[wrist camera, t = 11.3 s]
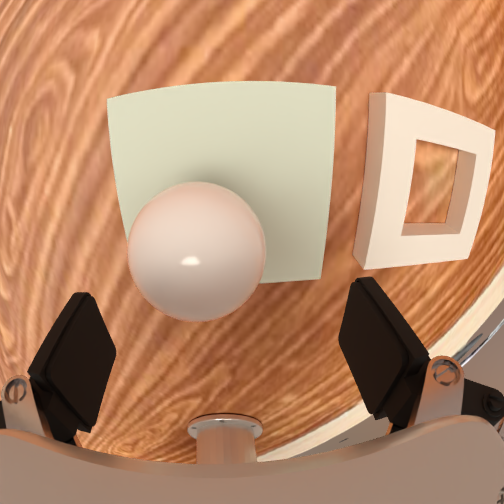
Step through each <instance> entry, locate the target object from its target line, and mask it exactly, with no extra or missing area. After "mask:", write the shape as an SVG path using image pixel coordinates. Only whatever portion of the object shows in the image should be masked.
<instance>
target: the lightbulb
mask: <svg viewBox="0 0 504 504" xmlns="http://www.w3.org/2000/svg"><path fill="white" fill-rule="evenodd" d="M127 258H128V265H129V270H130V273H131V276H132V279H133V281H134V283H135V285H136V287H137V289H138V290H139V292H140V293H141V295H142V296H143V297H144V298H145V299H146V300H147V301H148V302H149V303H150V304H151V305H152V306H153V307H154V308H156V309H157V310H158V311H160V312H162V313H163V314H165V315H167V316H169V317H172V318H175V319H178V320H182V321H187V322H206V321H212V320H216V319H219V318H222V317H224V316H226V315H228V314H230V313H232V312H234V311H235V310H237V309H238V308H239V307H241V306H242V305H243V304H244V303H245V302H246V301H247V300H248V299H249V298H250V297H251V295H252V294H253V293H254V291H255V290H256V288H257V286H258V284H259V282H260V280H261V278H262V275H263V272H264V268H265V263H266V240H265V235H264V231H263V228H262V226H261V223H260V221H259V219H258V217H257V215H256V214H255V212H254V211H253V209H252V208H251V207H250V206H249V205H248V203H247V202H246V201H245V200H243V199H242V198H241V197H240V196H239V195H237V194H236V193H234V192H233V191H231V190H229V189H227V188H225V187H223V186H220V185H217V184H214V183H209V182H201V181H193V182H184V183H180V184H176V185H173V186H171V187H168V188H166V189H164V190H163V191H161V192H159V193H158V194H156V195H155V196H154V197H152V198H151V199H150V200H149V201H148V202H147V203H146V204H145V205H144V206H143V208H142V209H141V210H140V212H139V213H138V215H137V217H136V218H135V220H134V223H133V225H132V227H131V231H130V234H129V239H128V246H127Z"/></svg>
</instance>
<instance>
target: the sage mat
mask: <svg viewBox="0 0 504 504" xmlns="http://www.w3.org/2000/svg"><path fill="white" fill-rule="evenodd" d="M107 111H108V124H109V135H110V145H111V153H112V161H113V168H114V175H115V182H116V188H117V194H118V199H119V205H120V210H121V215H122V220H123V225H124V229H125V234H126V238H127V242H128V239H129V234H130V231H131V227H132V225H133V223H134V220H135V218H136V217H137V215H138V213H139V212H140V210H141V209H142V208H143V206H144V205H145V204H146V203H147V202H148V201H149V200H150V199H151V198H152V197H154V196H155V195H156V194H158V193H159V192H161V191H163V190H164V189H166V188H168V187H171V186H173V185H176V184H180V183H184V182H193V181H201V182H209V183H214V184H217V185H220V186H223V187H225V188H227V189H229V190H231V191H233V192H234V193H236V194H237V195H239V196H240V197H241V198H242V199H243V200H245V201H246V202H247V203H248V205H249V206H250V207H251V208H252V209H253V211H254V212H255V214H256V215H257V217H258V219H259V221H260V223H261V226H262V228H263V231H264V235H265V240H266V263H265V268H264V272H263V275H262V278H261V280H260V282H259V283H274V282H288V281H301V280H313V279H320V278H321V271H322V265H323V257H324V250H325V242H326V234H327V225H328V216H329V207H330V196H331V185H332V172H333V157H334V139H335V112H336V87H335V86H327V85H318V84H308V83H295V82H276V81H231V82H211V83H199V84H188V85H179V86H172V87H164V88H158V89H152V90H146V91H140V92H135V93H130V94H125V95H121V96H116V97H112V98H108V99H107Z"/></svg>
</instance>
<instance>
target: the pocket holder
mask: <svg viewBox="0 0 504 504" xmlns="http://www.w3.org/2000/svg"><path fill="white" fill-rule="evenodd" d="M416 139H418V140H423V141H428V142H432V143H436V144H441V145H445V146H449V147H452V148H456V149H459V153H458V161H457V168H456V174H455V180H454V186H453V191H452V196H451V201H450V205H449V210H448V214H447V218H446V222H445V223H404V219H405V214H406V209H407V204H408V198H409V193H410V187H411V180H412V174H413V166H414V158H415V149H416ZM494 139H495V130H493V129H491V128H489V127H487V126H484V125H482V124H480V123H478V122H475V121H473V120H471V119H468V118H466V117H463V116H461V115H458V114H456V113H453V112H450V111H448V110H445V109H442V108H439V107H436V106H433V105H430V104H427V103H424V102H420V101H417V100H414V99H410V98H406V97H403V96H399V95H395V94H391V93H386V92H383V93H369V118H368V137H367V150H366V162H365V172H364V181H363V190H362V198H361V205H360V212H359V219H358V225H357V231H356V237H355V243H354V249H353V254H352V255H353V256H354V257H355V259H356V260H357V261H358V263H359V264H360V265H361V267H362V268H363V269H364V270H367V269H378V268H388V267H398V266H408V265H417V264H426V263H435V262H444V261H452V260H460V259H468V256H469V253H470V251H471V248H472V244H473V241H474V238H475V235H476V232H477V228H478V225H479V221H480V217H481V214H482V210H483V205H484V201H485V197H486V192H487V187H488V182H489V176H490V171H491V164H492V157H493V149H494Z"/></svg>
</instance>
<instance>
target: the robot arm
mask: <svg viewBox="0 0 504 504" xmlns="http://www.w3.org/2000/svg"><path fill="white" fill-rule="evenodd" d="M339 345H340V347H341V349H342V352H343V354H344V356H345V358H346V361H347V363H348V365H349V368H350V370H351V372H352V375H353V377H354V379H355V382H356V384H357V386H358V389H359V391H360V393H361V396H362V398H363V401H364V403H365V406H366V408H367V410H368V412H369V413H370V414H373V415H374V418H375V420H378V419H381V418H384V417H388V419H389V421H390V424H389V427H388V430H387V432H386V435H385V436H383V437H380V438H376V439H373V440H370V441H366V442H363V443H359V444H356V445H352V446H348V447H345V448H341V449H337V450H332V451H328V452H323V453H319V454H314V455H309V456H303V457H297V458H290V459H283V460H275V461H266V462H257V457H256V449H255V440H254V439H255V438H257V437H259V436H260V435H261V434H262V432H263V428H262V424H261V423H260V422H259V421H258V420H256V419H254V418H251V417H247V416H243V415H235V414H216V415H207V416H203V417H199V418H196V419H194V420H192V421H191V422H190V423H189V424H188V433H189V435H191V436H192V437H193V438H195V439H197V464H182V463H168V462H157V461H148V460H141V459H134V458H128V457H122V456H116V455H111V454H106V453H102V452H97V451H93V450H89V449H85V448H83V447H82V445H81V443H80V441H79V439H78V437H77V435H76V432H77V429H78V430H80V431H84V432H88V433H91V429H92V426H95V424H96V421H97V417H98V413H99V410H100V406H101V402H102V399H103V395H104V392H105V389H106V385H107V382H108V379H109V376H110V373H111V369H112V366H113V363H114V360H115V357H116V348H115V345H114V343H113V341H112V339H111V337H110V334H109V332H108V330H107V328H106V325H105V323H104V321H103V318H102V316H101V313H100V311H99V308H98V306H97V303H96V301H95V299H94V297H92V296H91V295H90V294H89V293H87V292H76V293H74V294H73V295H72V297H71V298H70V300H69V301H68V303H67V304H66V306H65V307H64V309H63V310H62V312H61V313H60V315H59V317H58V318H57V320H56V321H55V323H54V325H53V326H52V328H51V330H50V331H49V333H48V335H47V336H46V338H45V340H44V341H43V343H42V345H41V347H40V349H39V350H38V352H37V354H36V356H35V358H34V360H33V361H32V363H31V365H30V367H29V369H28V371H27V372H28V373H29V375H30V376H31V377H30V379H28V378H27V377H25V376H23V375H16V376H13V377H11V378H10V379H9V380H8V381H7V382H6V383H5V385H4V386H3V389H2V392H1V398H2V400H1V401H0V504H504V396H503V395H502V393H501V392H499V391H498V390H496V389H494V388H491V387H488V386H485V385H482V384H479V383H476V382H473V381H470V380H467V379H465V378H464V371H463V369H462V367H461V366H460V364H459V363H458V362H457V361H456V360H454V359H453V358H450V357H448V356H437V357H435V358H433V359H432V360H431V359H430V358H429V356H428V355H429V353H428V351H427V350H426V348H425V347H424V345H423V344H422V343H421V341H420V340H419V338H418V337H417V335H416V334H415V333H414V331H413V330H412V328H411V327H410V326H409V324H408V323H407V321H406V320H405V319H404V317H403V316H402V315H401V313H400V312H399V311H398V309H397V308H396V307H395V305H394V304H393V303H392V301H391V300H390V299H389V297H388V296H387V295H386V294H385V292H384V291H383V290H382V288H381V287H380V286H379V285H378V283H377V282H376V281H375V280H374V278H372V277H362V278H357V279H356V280H355V282H353V283H352V284H351V286H350V290H349V295H348V300H347V304H346V308H345V313H344V317H343V321H342V325H341V329H340V333H339Z"/></svg>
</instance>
